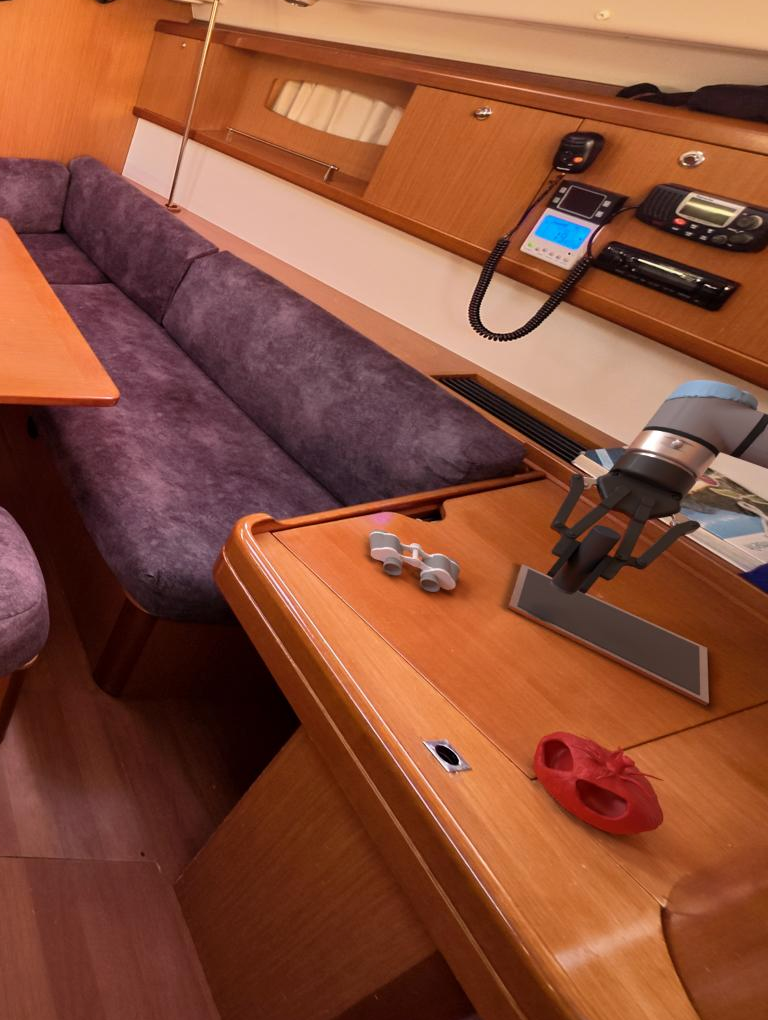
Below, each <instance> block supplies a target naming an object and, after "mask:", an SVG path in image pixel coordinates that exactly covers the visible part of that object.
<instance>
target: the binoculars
mask: <svg viewBox="0 0 768 1020" xmlns="http://www.w3.org/2000/svg"><path fill="white" fill-rule="evenodd" d="M368 539H369V546H370V556H371V557H372V559H374V560H376V561H381V562H383V565H382V568H383V570H384V572H385V573H387V574H388V575H391V576H400V575H401V574H402V573H403V567H402V566H403V563H406V564H409V565H411V566H412V567H415V568H419V569H420V574H419V576H420V580H419V585H420V587H421V588H422V589H423V590H425V591H427V592H432V593H434V592H435V593H436V592H439V591H440V590H441V589H444V590H446V591H450V590H451V591H452V590H453V589H455V588H456V586H457V585H456V584H457V581H458V578H459V575H460V572H461V568H460V567H461V566H460V564H459V562H458V561H457V560H455V559H453V558H452V557H448V556H447V555H445V554H443V553H432V554H428V553H427V552H425V551H424V550H423V547H422V546H421V544H419V543H415V542H413V543H410V544H404V543H402V542H401V540H400V537H398V535H396V534H393V533H389V532H387V531H386V530H383V529H374V530H371V531H370V532H369V536H368ZM404 551H406V552H408V553H410V554H412V556H406V555H404ZM419 557H421V559H419Z"/></svg>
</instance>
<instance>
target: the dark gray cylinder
mask: <svg viewBox="0 0 768 1020" xmlns="http://www.w3.org/2000/svg"><path fill="white" fill-rule="evenodd" d="M621 539H622V535H621V534H620V533H619V532H617V530H615V529H613V528H611V527H608V526H605V525H600V524H594V525H593V526H592V528H591V529H590V530H589V532H588V533H587V534H585V537H583V539H582V540H581V541H580V542H581V543H580V545H579V546H578V547H577V548H576V550H575V551H574V552H573V553H572V555H571V556H570V557H569V559H568V560H567V561H566V562H565V564H564V565H563V566H562V567H561V569H560V570H559V571H558V572H557V573H556V575H555V576H554V577H553V578H552V581H551V585H552V586H553V587H554V588H555V589H556V590H558V591H560V592H562V593H565V594H569V595H572V594H574V593H575V592H577V591H578V589H579V588H580V587H581V586H582V584H583V583H584V582H585V581H586V579H587V578H588V577H589V576H590V574H591V573H592V572H593V571H594V570H595V568H596V567H597V566H598V565H599V564H600V562H601V561H602V560H603V559H604V558H605V556H606V555H609V554H610V552H611V551H612V550H613V549H614V548H615V547H616V545H617V544H618V543H619V542H620V541H621Z"/></svg>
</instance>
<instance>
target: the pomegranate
mask: <svg viewBox="0 0 768 1020" xmlns="http://www.w3.org/2000/svg"><path fill="white" fill-rule="evenodd" d="M581 736H582V737H581ZM532 769H533V772H534V774H535V777H536V779H537V780H538V782H539V784H540V785H541V786H543V788H544V789H545V790H546V791H547V793H548V794H550V796H551V797H552V798H554V799H555V800H556V801H557V802H558V803H559V804H560V805H561V806H562V807H563V808H564V809H565V810H567V811H568V812H570V814H572V815H573V816H574V817H576V818H577V819H579V820H580V821H582V822H584V823H586V824H588V825H591V826H593V827H594V828H596V829H598V830H601V831H603V832H607V833H609V834H614V835H639V834H642V833H648V832H652V831H654V830H657V829H658V828H659V826H661V825H662V824H663V822H664V812H663V809H662V807H661V805H660V802H659V798H658V796H657V793H656V792H655V789H654V787H653V785H652V783H651V782H650V781H649V779H648V778H647V777H649V778H652V779H655V780H658V781H662V782H663V781H665V779H662V778H658V777H656V776H654V775H652V774H649V773H645V772H641V770H639V768H638V767H637V766H636V761H635V760H633V759H632V758H630V757H629V756H628V755H627V754H626V755H624V750H623V749H622V748H621V746H620V745H618V747H617V750H615V751H612V750H611V749H610V750H609V749H608V748H606V747H604V746H602V745H600V744H599V743H597V742H596V741H595V740H593V739H592V738H590V737H588V736H586V735H584V734H582V733H580V736H578V735H577V734H574V733H571V732H566V731H559V730H558V731H556V732H551V733H549V734H546V735H544V736H542V737H541V739H540V740H539V742H538V744H537V745H536V748H535V752H534V756H533V763H532Z"/></svg>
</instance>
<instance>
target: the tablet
mask: <svg viewBox="0 0 768 1020" xmlns="http://www.w3.org/2000/svg"><path fill="white" fill-rule="evenodd" d="M516 575H517V576H516V580H515V582H514V586H513V588H512V592H511V595H510V598H509V601H508V604H507V609H509V610H511V611H512V612H515V613H517V614H519V615H521V616H523V617H525V618H526V619H528V620H530V621H533V622H535V623H538V624H539V625H541V626H543V627H545V628H547V629H549V630H551V631H554V632H555V633H556V634H557V633H558V634H559V635H561V636H563V637H565V638H568V639H570V640H572V641H573V642H576V643H578V644H580V645H582V646H583V647H586V648H588V649H590V650H591V651H593V652H596V653H598V654H600V655H602V656H604V657H606V658H608V659H609V660H612V661H614V662H616V663H617V664H620V665H622V666H623V667H626V668H628V669H630V670H632V671H633V672H636V673H638V674H640V675H642V676H644V677H646V678H648V679H650V680H652V681H654V682H656V683H658V684H660V685H663V686H664V687H667V688H668V689H671V690H673V691H675V692H676V693H678V694H680V695H682V696H685V697H687V698H688V699H691V700H693V701H695V702H697V703H699V704H701V705H703V706H705V707H707V706H708V705H709V704H710V697H709V696H710V695H709V666H708V665H709V663H708V662H709V661H708V659H709V658H708V647H706V646H704V645H701V644H699V643H697V642H695V641H694V640H693V641H692V640H690V639H689V638H686V637H684V636H682V635H679V634H677V633H676V632H673V631H671V630H668V629H666V628H664V627H662V626H660V625H658V624H656V623H653V622H652V621H649V620H647V619H644V618H643V617H640V616H637V615H635V614H633V613H631V612H629V611H627V610H624V609H623V608H620V607H619V606H615V605H613V604H612V603H609V602H607V601H605V600H603V599H600V598H598V597H596V596H595V595H594V596H593V595H591V594H589V593H588V592H586V593H585V594H583V593H581V592H579V591H577V592H575V593H574V594H572V595H569V594H565V593H562V592H560V591H558V590H556V589H555V588H554V587H553V586H552V585H551V581H552V578H551V577H549V576H547V575H546V574H545V573H543V572H541V571H539V570H536V569H534V568H532V567H530V566H528V565H526V564H523V563H522V564H520V566H519V569H518V573H517V574H516Z"/></svg>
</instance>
